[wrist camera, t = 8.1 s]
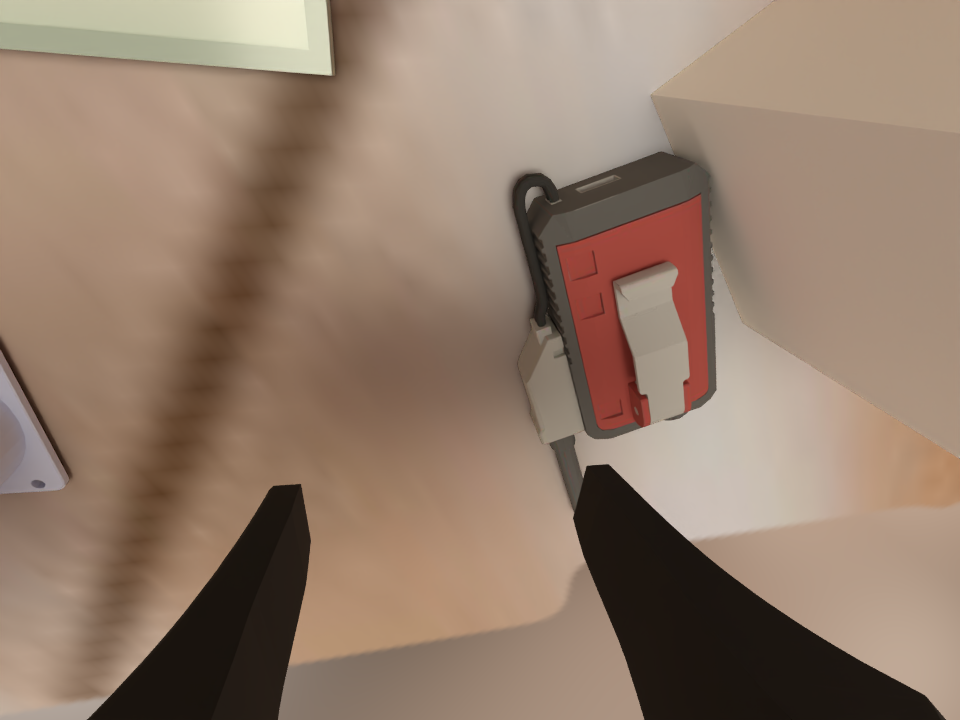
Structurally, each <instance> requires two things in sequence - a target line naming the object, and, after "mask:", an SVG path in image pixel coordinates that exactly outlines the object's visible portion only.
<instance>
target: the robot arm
mask: <svg viewBox="0 0 960 720" xmlns="http://www.w3.org/2000/svg"><path fill="white" fill-rule="evenodd" d="M68 481H69V477H68V475H67V473H66V471H65V469H64V468H63V466H62V464H61V462H60V460H59V458H58V456H57V455H56V453H55V451H54V449H53V447H52V445H51V443H50V441H49V440H48V438H47V436H46V434H45V432H44V430H43V428H42V426H41V425H40V423H39V421H38V419H37V417H36V415H35V413H34V411H33V410H32V408H31V406H30V404H29V402H28V400H27V398H26V396H25V395H24V393H23V391H22V389H21V387H20V385H19V383H18V382H17V380H16V378H15V376H14V374H13V372H12V370H11V368H10V367H9V365H8V363H7V361H6V359H5V357H4V355H3V353H2V352H1V350H0V494H8V493H24V492H40V491H56V490H61V489H63V488H64V487H65V486H66V484H67V483H68ZM573 520H574V523H575V527H576V531H577V535H578V538H579V542H580V545H581V549H582V552H583V555H584V558H585V560H586V563H587V565H588V568H589V570H590V573H591V575H592V578H593V580H594V583H595V585H596V587H597V590H598V592H599V595H600V597H601V599H602V601H603V604H604V606H605V609H606V611H607V614H608V616H609V618H610V621H611V623H612V625H613V628H614V630H615V633H616V635H617V637H618V640H619V642H620V645H621V648H622V651H623V653H624V656H625V659H626V661H627V664H628V668H629V671H630V674H631V677H632V681H633V684H634V687H635V690H636V693H637V696H638V700H639V702H640V706H641V710H642V713H643V716H644V720H946V719H945V718H944V717H943V716H942V715H941V713H940V712H939V711H938V710H937V709H936V708H935V706H934V705H933V704H932V703H931V702H930V701H929V699H928V698H927V697H926V696H925V695H923V694H921V693H919V692H918V691H916V690H914V689H912V688H910V687H908V686H906V685H904V684H903V683H901V682H899V681H897V680H895V679H893V678H891V677H889V676H887V675H886V674H884V673H882V672H880V671H878V670H876V669H875V668H873V667H871V666H869V665H867V664H865V663H863V662H861V661H860V660H858V659H856V658H855V657H853V656H851V655H850V654H848V653H846V652H845V651H843V650H841V649H839V648H838V647H836V646H834V645H832V644H831V643H829V642H827V641H826V640H824V639H823V638H821V637H819V636H818V635H816V634H815V633H813V632H811V631H810V630H808V629H807V628H805V627H803V626H802V625H800V624H799V623H797V622H796V621H794V620H793V619H791V618H790V617H788V616H787V615H785V614H784V613H782V612H781V611H779V610H778V609H776V608H775V607H773V606H772V605H770V604H769V603H767V602H766V601H765V600H763V599H762V598H760V597H759V596H758V595H756V594H755V593H753V592H752V591H751V590H749V589H748V588H747V587H745V586H744V585H743V584H741V583H740V582H739V581H737V580H736V579H734V578H733V577H732V576H731V575H729V574H728V573H727V572H725V571H724V570H723V569H722V568H720V567H719V566H718V565H717V564H715V563H714V562H713V561H712V560H711V559H709V558H708V557H707V556H706V555H704V554H703V553H702V552H701V551H700V550H699V549H698V548H696V547H695V546H694V545H693V544H692V543H691V542H689V541H688V540H687V539H686V538H685V537H684V536H683V535H682V534H680V533H679V532H678V531H677V530H676V529H675V528H674V527H673V526H672V525H670V524H669V523H668V522H667V521H666V520H665V519H664V518H663V517H662V516H661V515H660V514H659V513H658V512H657V511H656V510H655V509H654V508H652V507H651V506H650V505H649V504H648V503H647V502H646V501H645V500H644V499H643V498H642V497H641V496H640V495H639V494H638V493H637V492H636V491H635V490H634V489H633V488H632V487H631V486H630V485H629V484H628V483H627V482H626V481H625V480H624V479H623V478H622V477H621V476H620V475H619V474H618V473H617V472H616V471H615V470H614V469H613V468H612V467H611V466H610V465H609V464H606V465H591V466H587V467H586V471H585V475H584V479H583V482H582V486H581V490H580V494H579V498H578V501H577V505H576V509H575V513H574V517H573ZM310 543H311V539H310V533H309V527H308V522H307V516H306V510H305V505H304V499H303V493H302V488H301V484H296V485H280V486H273V487H272V488H271V489H270V490H269V491H268V493H267V495H266V497H265V498H264V500H263V502H262V503H261V505H260V507H259V508H258V510H257V512H256V513H255V515H254V516H253V518H252V519H251V521H250V523H249V524H248V526H247V527H246V529H245V530H244V532H243V533H242V535H241V536H240V538H239V539H238V541H237V542H236V544H235V545H234V547H233V548H232V549H231V551H230V552H229V554H228V555H227V557H226V558H225V559H224V561H223V562H222V564H221V565H220V567H219V568H218V569H217V571H216V572H215V573H214V575H213V576H212V577H211V579H210V580H209V581H208V583H207V584H206V585H205V587H204V588H203V589H202V590H201V592H200V593H199V594H198V596H197V597H196V598H195V600H194V601H193V602H192V603H191V605H190V606H189V607H188V609H187V610H186V611H185V612H184V614H183V615H182V616H181V617H180V618H179V620H178V621H177V622H176V623H175V625H174V626H173V627H172V628H171V629H170V631H169V632H168V633H167V634H166V635H165V636H164V638H163V639H162V640H161V641H160V642H159V643H158V645H157V646H156V647H155V648H154V649H153V650H152V651H151V653H150V654H149V655H148V656H147V657H146V658H145V659H144V660H143V662H142V663H141V664H140V665H139V666H138V667H137V668H136V669H135V670H134V671H133V672H132V673H131V674H130V676H129V677H128V678H127V679H126V680H125V681H124V682H123V683H122V684H121V685H120V686H119V687H118V688H117V689H116V691H115V692H114V693H113V694H112V695H111V696H110V697H109V698H108V699H107V700H106V701H105V702H104V703H103V704H102V705H101V706H100V707H99V708H98V709H97V711H95V712H94V713H93V714H92V716H91V717H89V718H88V719H87V720H278V714H279V707H280V702H281V696H282V691H283V686H284V681H285V677H286V672H287V668H288V663H289V659H290V654H291V650H292V645H293V641H294V636H295V632H296V627H297V623H298V619H299V614H300V609H301V605H302V600H303V596H304V591H305V586H306V580H307V572H308V563H309V553H310Z"/></svg>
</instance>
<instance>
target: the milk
mask: <svg viewBox="0 0 960 720" xmlns="http://www.w3.org/2000/svg"><path fill="white" fill-rule="evenodd" d="M651 98H652V100H653V103H654V105H655V108H656V110H657V112H658V115H659V117H660V120H661V122H662V125H663V127H664V130H665V132H666V135H667V137H668V140H669V142H670V145H671V147H672V150H673V152H674V155H675V156H676V157H680V158H683V159H686V160H689V161H692V162H695V163H697V164H698V165H699V166H700V167H702V168H703V169H704V170H705V171H707V172H708V173H709V174H710V175H711V177H710V178H709V187H711V192H710V193H709V201H711V207H710V215H711V216H712V220H711V222H710V229H712V234H711V235H710V238H711V242H712V245H713V246H712V248H713V251H714V253H715V256H716V258H717V261H718V263H719V266H720V268H721V271H722V273H723V276H724V278H725V281H726V283H727V286H728V288H729V291H730V293H731V295H732V298H733V300H734V303H735V305H736V308H737V310H738V313H739V315H740V318H741V320H742V323H744V324H745V325H747V326H748V327H750V328H751V329H753V330H755V331H756V332H758V333H759V334H761V335H763V336H764V337H766V338H767V339H769V340H771V341H772V342H774V343H775V344H777V345H779V346H780V347H782V348H783V349H785V350H787V351H788V352H790V353H791V354H793V355H795V356H796V357H798V358H799V359H801V360H803V361H804V362H806V363H807V364H809V365H811V366H812V367H814V368H815V369H817V370H819V371H820V372H822V373H823V374H825V375H827V376H828V377H830V378H831V379H833V380H835V381H836V382H838V383H839V384H841V385H843V386H844V387H846V388H847V389H849V390H851V391H852V392H854V393H855V394H857V395H859V396H860V397H862V398H863V399H865V400H867V401H868V402H870V403H871V404H873V405H874V406H876V407H878V408H879V409H881V410H882V411H884V412H886V413H887V414H889V415H890V416H892V417H894V418H895V419H897V420H898V421H900V422H902V423H903V424H905V425H906V426H908V427H910V428H911V429H913V430H914V431H916V432H918V433H919V434H921V435H922V436H924V437H926V438H927V439H929V440H930V441H932V442H934V443H935V444H937V445H938V446H940V447H942V448H943V449H945V450H946V451H948V452H950V453H951V454H953V455H954V456H956V457H958V458H959V459H960V0H775V1H774V2H772V3H771V4H770V5H768V6H767V7H766V8H764V9H763V10H762V11H760V12H759V13H758V14H756V15H755V16H754V17H752V18H751V19H750V20H749V21H747V22H746V23H745V24H743V25H742V26H741V27H739V28H738V29H737V30H735V31H734V32H733V33H731V34H730V35H729V36H727V37H726V38H725V39H723V40H722V41H721V42H719V43H718V44H717V45H715V46H714V47H713V48H711V49H710V50H709V51H707V52H706V53H705V54H704V55H702V56H701V57H700V58H698V59H697V60H696V61H694V62H693V63H692V64H690V65H689V66H688V67H686V68H685V69H684V70H682V71H681V72H680V73H678V74H677V75H676V76H674V77H673V78H672V79H670V80H669V81H668V82H666V83H665V84H664V85H662V86H661V87H660V88H659V89H657V90H656V91H655V92H653V93H652V94H651Z"/></svg>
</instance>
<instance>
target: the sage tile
mask: <svg viewBox="0 0 960 720" xmlns="http://www.w3.org/2000/svg"><path fill="white" fill-rule="evenodd" d="M0 49H10V50H22V51H35V52H47V53H59V54H72V55H84V56H97V57H109V58H121V59H134V60H146V61H158V62H171V63H183V64H195V65H208V66H220V67H232V68H245V69H257V70H269V71H282V72H294V73H307V74H319V75H331V76H332V75H336V74H335V61H334V48H333V34H332V21H331V8H330V0H0Z"/></svg>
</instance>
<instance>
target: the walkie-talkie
mask: <svg viewBox="0 0 960 720" xmlns="http://www.w3.org/2000/svg"><path fill="white" fill-rule="evenodd" d="M710 177H711V175H710V174H709V173H708V172H707V171H705V170H704V169H703V168H702V167H700V166H699V165H698V164H697V163H695V162H692V161H689V160H686V159H683V158H680V157H676V156H673V155H670V154H667V153H664V152H658V153H656V154H653V155H650V156H648V157H645V158H642V159H639V160H637V161H634V162H631V163H629V164H626V165H623V166H620V167H618V168H615V169H612V170H610V171H607V172H604V173H601V174H599V175H596V176H593V177H591V178H588V179H585V180H583V181H580V182H577V183H574V184H572V185H569V186H566V187H564V188H561V189H558V190H557V189H556V187H555V185H554V184H553V182H552V181H551V179H549V178H548V177H546V176H544V175H543V174H541V173H537V174H526V175H525V176H523V177H522V178H520V179H519V180H518V182H517V183H516V185H515V187H514V190H513V209H514V213H515V217H516V220H517V224H518V228H519V231H520V235H521V239H522V242H523V246H524V250H525V253H526V257H527V261H528V264H529V268H530V272H531V275H532V279H533V284H534V288H535V292H536V298H537V302H536V306H535V309H534V318H532V319H529V320H530V323H531V327H532V329H531V332H530V334H529V336H528V339H527V341H526V343H525V345H524V348H523V350H522V352H521V355H520V357H519V359H518V368H519V371H520V374H521V377H522V380H523V383H524V386H525V389H526V393H527V396H528V399H529V402H530V405H531V408H532V409H531V411H530V414H531V417H532V420H533V423H534V425H535V428H536V430H537V433H538V435H539V438H540V440H541V443H542V444H548V443H550V446H551V447H552V449H554V450H555V452H556V455H557V459H558V462H559V465H560V468H561V472H562V475H563V478H564V481H565V485H566V488H567V491H568V494H569V497H570V501H571V504H572V507H573V510H574V513H575V509H576V505H577V501H578V498H579V494H580V490H581V486H582V482H583V477H582V474H581V470H580V467H579V463H578V460H577V456H576V453H575V449H574V444H575V437H574V434H576V433H579V432H582V431H584V430H585V431H586V433H587V435H589V436H590V437H592V438H594V439H609V438H614V437H617V436H619V435H622V434H625V433H628V432H631V431H634V430H636V429H639V428H642V427H645V426H648V425H651V424H654V423H656V422H659V421H662V420H675V419H679V418H681V417H683V415H685V414H686V413H687V412H688V411H691V410H693V409H696V408H699V407H701V406H702V405H704V404H705V403H706V402H707V401H708V400H709V399H711V397H712V396H713V394H714V393H715V391H716V355H715V318H714V313H713V306H714V302H712V296H713V295H714V291H712V284H713V279H712V272H713V268H712V267H711V261H712V259H713V255H711V248H712V246H713V245H712V242H711V238H710V235H711V234H712V229H710V222H711V220H712V216H711V215H710V207H711V201H709V193H710V192H711V187H709V178H710ZM536 186H540V187H542V189H543V190H544V192H545V195H542V196H539V197H536V198H534V200H533V202H532V204H531V206H530V208H529V210H528V212H527V213H526V209H525V196H526V193H527V191H528V190H529V189H530V188H531V187H536ZM547 308H548V309H547ZM546 312H548V314H549V315H550V317H551V319H550V318H549V316H548V315H547V316H545V315H546Z"/></svg>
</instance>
